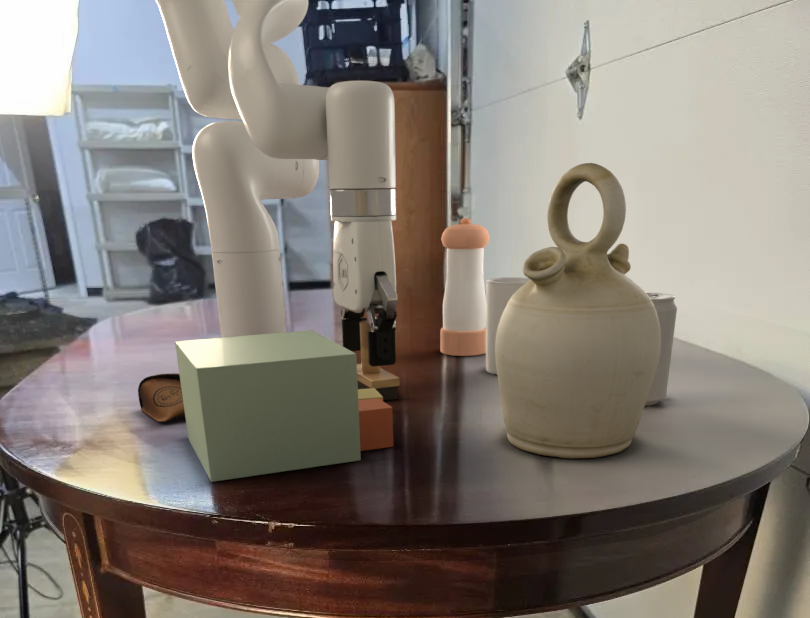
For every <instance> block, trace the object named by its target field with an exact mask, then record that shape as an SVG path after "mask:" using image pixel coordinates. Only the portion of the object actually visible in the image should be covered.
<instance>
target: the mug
mask: <svg viewBox="0 0 810 618" xmlns="http://www.w3.org/2000/svg"><path fill="white" fill-rule="evenodd" d="M530 280H531V279H529V278H528V277H521V276H520V277H518V276H517V277H516V276H508V277H507V276H506V277H493V278H488V279H486V288H485V297H486V324H485V327H486V353H485V370H486V372H487V373H488V374H492V375H497V369H496V358H495V341H496V334H497V329H498V325H499V322H500V319H501V316H502V314H503V311H504V309H505V308H506V306H507V303H508V301H509V300H510V298H511V297H512V295H513V294H514V293H515V292H516V291H517V290H518V289H520V288H521V287H522V286H523V285H524V284H526V283H527V282H528V281H530Z"/></svg>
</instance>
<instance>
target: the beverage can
mask: <svg viewBox="0 0 810 618" xmlns="http://www.w3.org/2000/svg"><path fill="white" fill-rule="evenodd" d="M645 293H646V294H647V295H648V296H649V297H650V299H651V300H652V302H653V304H654V306H655V310H656V312H657V315H658V318H659V323H660V330H661V350H660V357H659V362H658V365H657V369H656V373H655V376H654V379H653V382H652V385H651V389H650V392H649V395H648V398H647V400H646V403H645V406H644V407H646V406H653V405H656V404H658V403H659V402H660V401H661V400H664V399H665V398H666V397H667V393H668V384H669V376H670V369H671V359H672V352H673V346H674V345H673V344H674V337H675V327H676V321H677V320H676V319H677V312H678V307H677V305H676V303H675V299H676V296H675V294H670V293H662V292H645Z"/></svg>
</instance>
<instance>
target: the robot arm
mask: <svg viewBox="0 0 810 618" xmlns="http://www.w3.org/2000/svg"><path fill="white" fill-rule="evenodd" d="M155 2H156V4H157V6H158V9H159V12H160V15H161V17H162V21H163V24H164V28H165V32H166V35H167V39H168V42H169V45H170V49H171V53H172V56H173V59H174V62H175V66H176V68H177V72H178V76H179V80H180V83H181V86H182V89H183V92H184V94H185V98H186V99H187V102H188V104H189V105H190V107H191V108H192V110H193V111H194V112H196V113H197V114H199V115H201V116H204V117H206V118H212V119H222V120H221V121H216V122H212V123H209V124H207V125H206V126H204V127H203V128H202V129H200V130H199V132H198V133H197V134H196V136H195V138H194V141H193V144H192V153H191V154H192V163H193V169H194V172H195V176H196V180H197V182H198V186H199V190H200V193H201V198H202V200H203V206H204V210H205V216H206V222H207V228H208V235H209V245H210V251H211V260H212V268H213V278H214V288H215V295H216V296H215V297H216V304H217V313H218V321H219V329H220V330H219V331H220V338H223V337H235V336H248V335H260V334H272V333H284V332H287V323H286V321H287V320H286V312H285V311H286V310H285V309H286V308H285V299H284V284H283V273H282V272H283V271H282V259H281V247H280V238H279V232H278V230H277V226H276V224H275V222H274V219H273V218H272V216H271V215H270V213H269V212H268V210H267V209H266V207H265V205H264V203H263V202H262V201H264V200H285V199H286V200H291V199H299V198H303V197H305V196H308V195H309V194H310V193H312V192H313V190H314V189H315V187H316V185H317V183H318V181H319V175H320V161H328V162H327V164H328V179H329V183H328V184H329V198H330V199H329V202H330V221H331V222H334V229H333V244H332V245H333V246H332V247H333V248H332V255H333V256H332V261H333V262H332V264H333V265H332V266H333V267H332V269H333V272H332V274H333V277H332V278H333V279H332V281H333V300H334V302H335V304H336V305H337V306H339V307H340V317H341V335H342V336H341V337H342V346H343V347H345V348H346V349H348V350H350V351H352V352H361V346H360V322H361V321H367V320H368V321H369V324H370V328H371V331H368V353H369V365H371V366H392V365H395V364H396V362H397V361H396V330H397V323H396V320H397V317H398V311H396V310H397V305H398V299H399V298H398V293H397V272H396V255H395V241H394V231H393V223H392V221H397V189H396V188H397V183H396V182H397V180H396V179H397V177H396V175H397V174H396V171H397V169H396V167H397V166H396V113H395V112H396V111H395V110H396V109H395V97H394V96H395V95H394V93H393V90H392V88H391V86H389V85H388V84H386V83H385V82H381V81H374V80H347V81H339V82H335V83H334V84H331V86H328V87H327V86H319V85H307V84H301V81H300V78H299V74H298V72H297V69H296V68H295V65H294V63H293V62H292V60H291V58H290V57H289V55H288V54H287V53H286V52H285V51H284V50H283V49H282V48H280V46H277V45H276V44H273V43H276V42H278V41H280V40H282V39H284V38H285V37H287V36H289V35H290V34H291V33H292V32H294V31H295V30H296V29H297V28H298V27H299V26H300V25H301V23H302V22H303V20H304V19H305V17H306V15H307V12H308V10H309V0H231V2H232V4H233V6H234V10H235V11H236V14H237V16H238V20H237V22H236V25H235V26H234V27H233V25H232V22H231V19H230V15H229V11H228V7H227V3H226V1H225V0H155ZM223 120H224V121H223ZM239 120H240V121H239ZM365 314H366V316H367V317H365ZM376 315H377V317H376Z"/></svg>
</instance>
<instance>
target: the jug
mask: <svg viewBox="0 0 810 618" xmlns="http://www.w3.org/2000/svg"><path fill="white" fill-rule="evenodd" d="M584 182H587V183H589V184H591V185H592V186H593V187H594V188H595V189H596V190H597V191H598V193H599V195H600V198H601V203H602V208H603V210H602V211H603V217H602V223H601V226H600V229H599V231H598V233H597V234H596V235H595V237H594V238H592V239H591V240H589V241H582V240H579V239H578V238H577V237H575V235H574V234H573V233H572V231H571V228H570V225H569V218H568V217H569V215H568V213H569V206H570V202H571V199H572V197H573V194H574V193H575V191H576V190H577V188H578V187H580V185H581V184H583V183H584ZM546 215H547V216H546V219H547V220H546V221H547V229H548V232H549V235H550V237H551V240H552V241H553V243H554V245H555V246H549V247H545V248H541V249H539V250H536V251H534V252H533V253H532V254H530V255H529V256H528V257H527V258H526V259H525V261H524V263H523V265H522V273H523V276H525V278H529V279H531V280H530V281H528V282H527V283H526V284H524V285H523V286H522V287H521V288H520V289H518V290H517V291H516V292H515V293H514V294H513V295H512V297H511V298H510V300H509V301H508V303H507V306H506V308H505V309H504V311H503V314H502V316H501V319H500V322H499V325H498V329H497V334H496V341H495V358H496V369H497V374H496V375H497V382H498V383H497V384H498V389H499V394H500V401H501V411H502V419H503V423H504V426H505V428H506V437H507V440H508V442H509V443H510V444H511V445H512V446H514V447H515V448H517V449H520V450H522V451H525V452H528V453H533V454H535V455H539V456H545V457H555V458H561V459H569V460H572V459H596V458H601V457H607V456H612V455H614V454H618V453H620V452H622V451H624V450H626V449H627V448H629V446H630V445H631V443H632V441H633V437H634V436H635V434H636V432H637V429H638V426H639V425H640V421H641V418H642V415H643V412H644V408H645V407H646V406H645V403H646V400H647V398H648V395H649V392H650V389H651V385H652V382H653V379H654V376H655V373H656V369H657V365H658V362H659V357H660V350H661V330H660V323H659V318H658V315H657V312H656V310H655V306H654V304H653V302H652V300H651V299H650V297H649V296H648V295H647V294H646V293H647V292H646V291H645V290H644V289H643V288H642V287H641V286H640V285H639V284H637V283H636V282H635V281H634V280H633V279H631V277H628V275H626V274H627V273H628V272H630V270H631V269H632V268H631V263H630V261H629V258H630V250H629V246H628V245H627V244H625V243H619V244H617V245H616V246H615V247H614V248H613V246H614V245H615V244H616V242H617V241H618V239H619V238H620V235H621V234H622V231H623V228H624V226H625V223H626V222H625V221H626V215H627V203H626V196H625V192H624V189H623V186H622V185H621V182H620V181H619V180H618V178H617V177H616V176H615V175H614V173H613V172H611V170H609V169H608V168H606V167H605V166H602V165H600V164H598V163H595V162H586V163H585V162H584V163H580V164H578V165H575V166H573V167H572V168H570V169H569V170H567V171H566V172H565V173H564V174H563V175H562V176H561V177H560V179H558V181H557V182H556V184H555V186H554V188H553V189H552V191H551V194H550V196H549V201H548V205H547V213H546ZM611 248H613V249H612V250H611ZM609 250H611V251H610V252H609Z"/></svg>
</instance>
